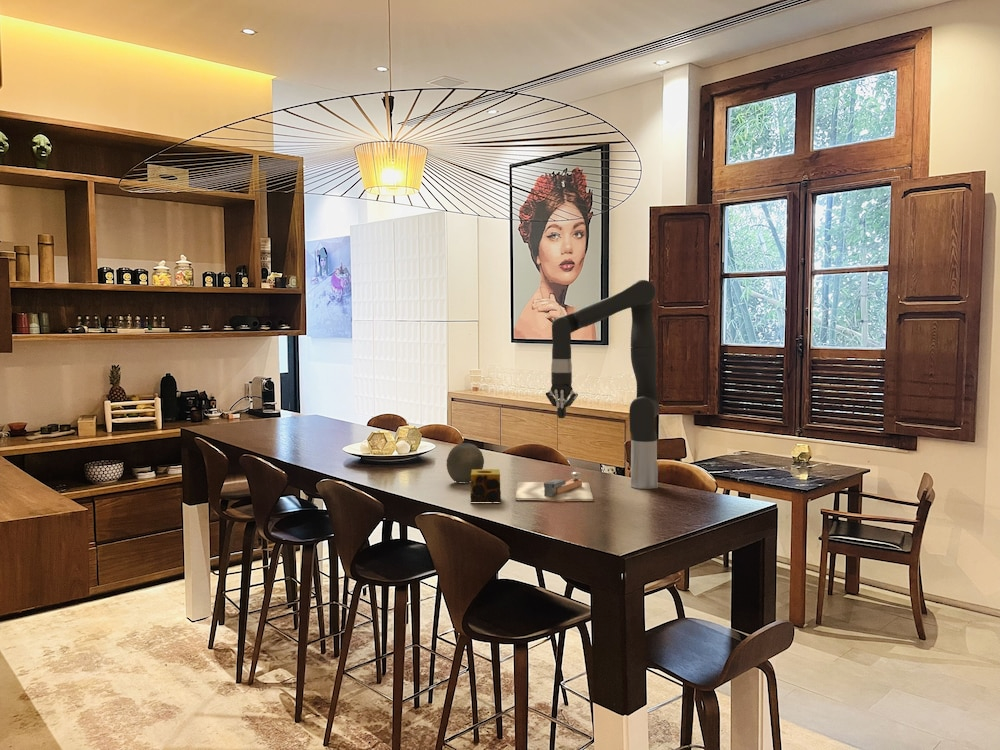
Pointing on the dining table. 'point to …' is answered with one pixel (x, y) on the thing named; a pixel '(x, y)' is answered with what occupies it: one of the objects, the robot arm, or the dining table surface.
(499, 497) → the candle
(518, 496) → the board
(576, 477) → the silver metal ball
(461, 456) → the dark grey ball
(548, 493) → the block
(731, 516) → the dining table surface
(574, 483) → the link
